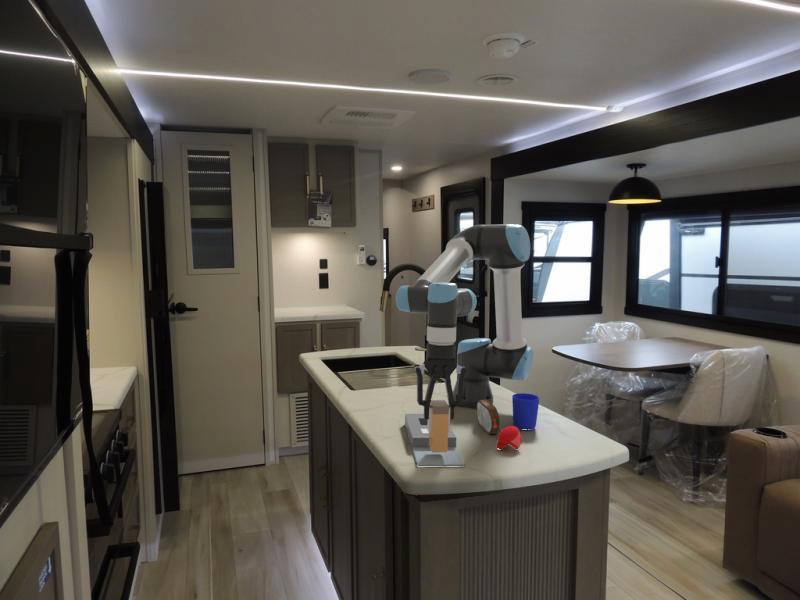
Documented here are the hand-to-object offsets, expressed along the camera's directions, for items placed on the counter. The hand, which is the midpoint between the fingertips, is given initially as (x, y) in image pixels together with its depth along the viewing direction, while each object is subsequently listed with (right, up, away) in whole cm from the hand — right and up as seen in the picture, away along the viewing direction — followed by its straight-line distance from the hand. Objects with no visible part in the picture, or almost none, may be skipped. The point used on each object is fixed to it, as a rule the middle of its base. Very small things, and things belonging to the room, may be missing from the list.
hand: (438, 430), depth 141 cm
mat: (0, -7, +1) cm, 7 cm away
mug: (+29, -6, +29) cm, 42 cm away
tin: (+17, -6, +25) cm, 31 cm away
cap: (+20, -7, +10) cm, 24 cm away
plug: (0, -5, 0) cm, 5 cm away
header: (-2, -6, +18) cm, 19 cm away
